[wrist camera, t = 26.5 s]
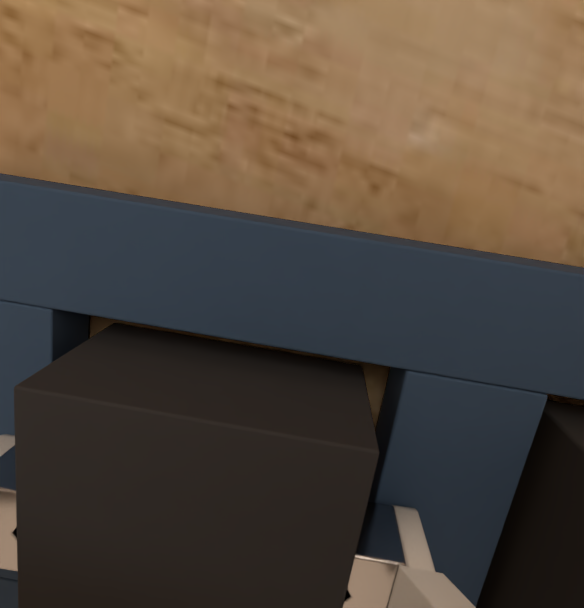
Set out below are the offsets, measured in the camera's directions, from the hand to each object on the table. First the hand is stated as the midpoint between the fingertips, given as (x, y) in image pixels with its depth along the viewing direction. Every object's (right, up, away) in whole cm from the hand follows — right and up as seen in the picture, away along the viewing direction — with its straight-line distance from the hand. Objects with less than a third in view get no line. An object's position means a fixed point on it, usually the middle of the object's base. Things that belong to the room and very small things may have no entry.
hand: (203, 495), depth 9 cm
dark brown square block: (0, 0, +2) cm, 2 cm away
